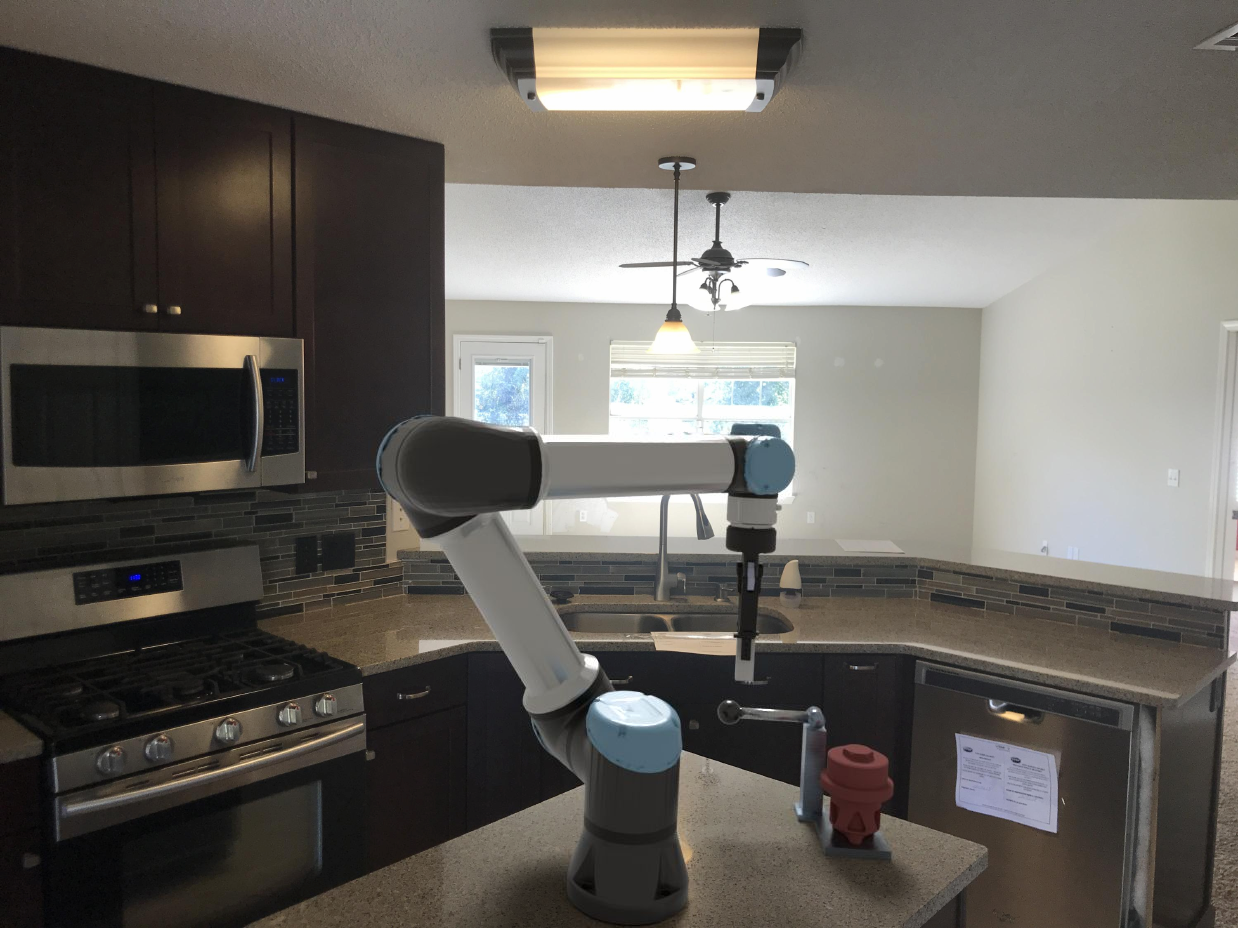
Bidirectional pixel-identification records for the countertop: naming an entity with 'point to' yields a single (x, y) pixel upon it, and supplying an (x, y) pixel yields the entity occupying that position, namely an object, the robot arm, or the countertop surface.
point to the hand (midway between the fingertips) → (743, 679)
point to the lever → (769, 714)
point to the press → (815, 811)
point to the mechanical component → (856, 789)
